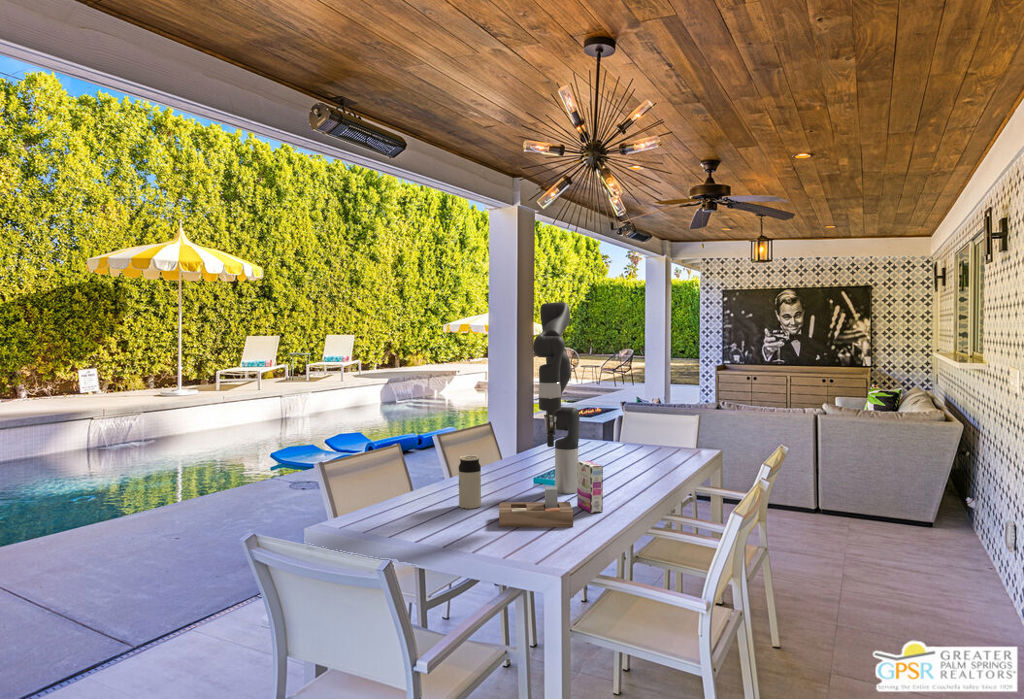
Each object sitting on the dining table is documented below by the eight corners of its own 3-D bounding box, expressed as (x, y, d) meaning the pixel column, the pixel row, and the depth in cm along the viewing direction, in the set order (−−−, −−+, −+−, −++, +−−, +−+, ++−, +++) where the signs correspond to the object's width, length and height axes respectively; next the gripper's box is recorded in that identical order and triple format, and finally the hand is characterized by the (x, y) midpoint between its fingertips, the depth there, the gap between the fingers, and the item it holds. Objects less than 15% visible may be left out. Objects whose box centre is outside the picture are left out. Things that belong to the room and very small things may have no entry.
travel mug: (483, 504, 242) (483, 455, 241) (476, 510, 234) (476, 459, 234) (463, 502, 244) (462, 454, 243) (455, 508, 236) (455, 458, 236)
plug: (545, 516, 222) (544, 486, 222) (556, 515, 222) (556, 486, 222) (545, 519, 218) (545, 489, 218) (557, 519, 218) (557, 489, 218)
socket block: (499, 517, 225) (499, 501, 225) (569, 516, 225) (569, 500, 225) (499, 527, 213) (499, 511, 213) (573, 526, 213) (573, 510, 213)
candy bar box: (603, 512, 230) (603, 465, 229) (591, 513, 228) (590, 466, 228) (589, 504, 240) (588, 459, 240) (576, 505, 238) (576, 460, 238)
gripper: (537, 393, 228) (538, 443, 229) (539, 398, 215) (540, 450, 216) (559, 393, 228) (559, 442, 229) (562, 397, 215) (563, 450, 216)
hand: (550, 446), depth 222 cm, fingers closed
